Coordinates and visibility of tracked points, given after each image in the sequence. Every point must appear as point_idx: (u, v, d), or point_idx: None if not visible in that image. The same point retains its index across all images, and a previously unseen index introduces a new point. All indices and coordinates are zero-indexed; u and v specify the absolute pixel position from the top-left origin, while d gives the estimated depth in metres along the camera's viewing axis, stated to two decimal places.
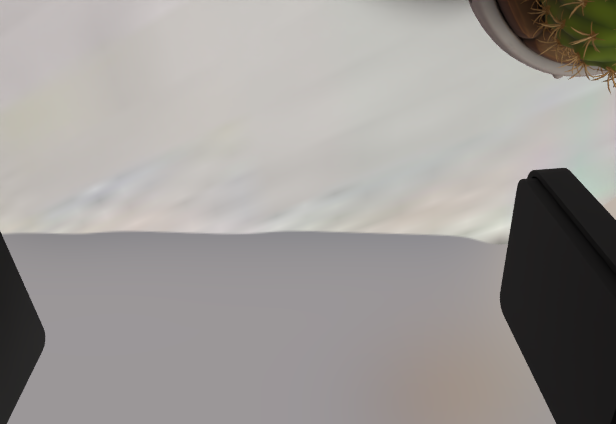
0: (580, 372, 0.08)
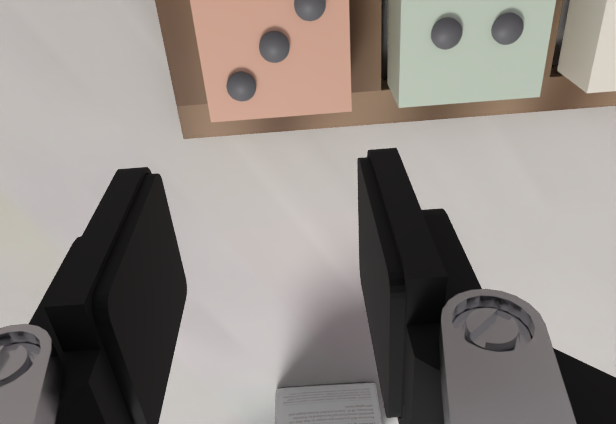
0: (379, 324, 0.09)
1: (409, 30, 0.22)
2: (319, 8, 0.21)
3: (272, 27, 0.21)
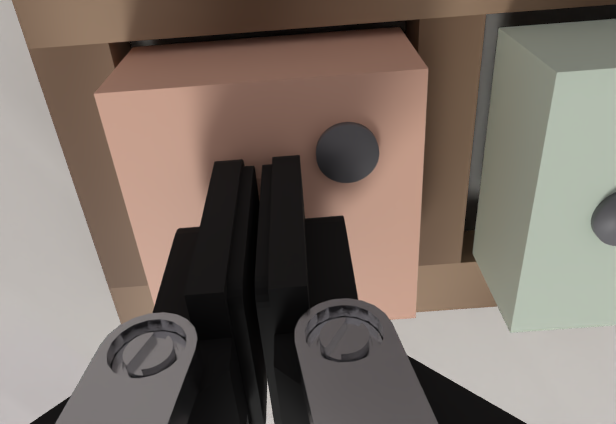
0: None
1: (549, 211, 0.11)
2: (367, 161, 0.11)
3: None
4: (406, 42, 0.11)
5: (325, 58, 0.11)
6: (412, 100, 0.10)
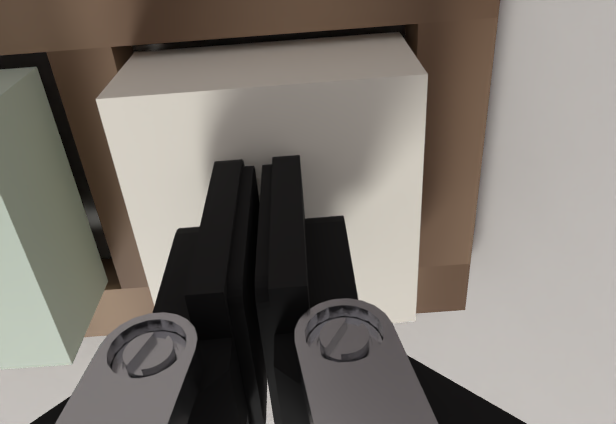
0: None
1: None
2: None
3: None
4: None
5: None
6: None
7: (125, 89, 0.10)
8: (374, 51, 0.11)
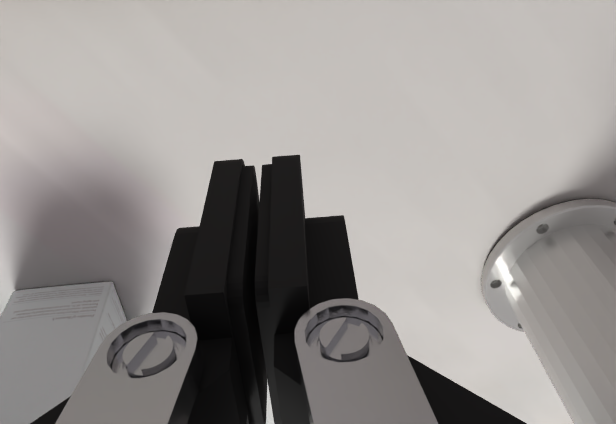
0: None
1: None
2: None
3: None
4: None
5: None
6: None
7: None
8: None
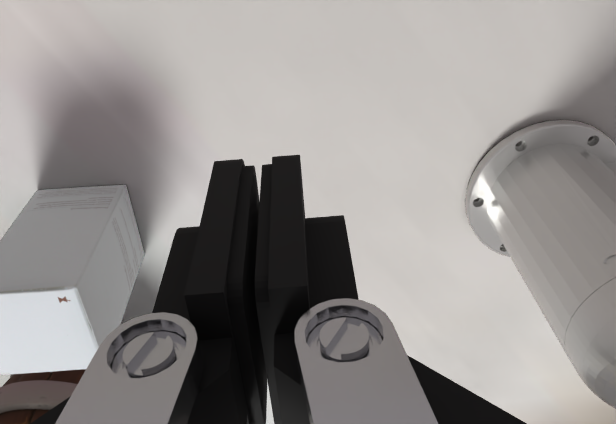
0: None
1: None
2: None
3: None
4: None
5: None
6: None
7: None
8: None
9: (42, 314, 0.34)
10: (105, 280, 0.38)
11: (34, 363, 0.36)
